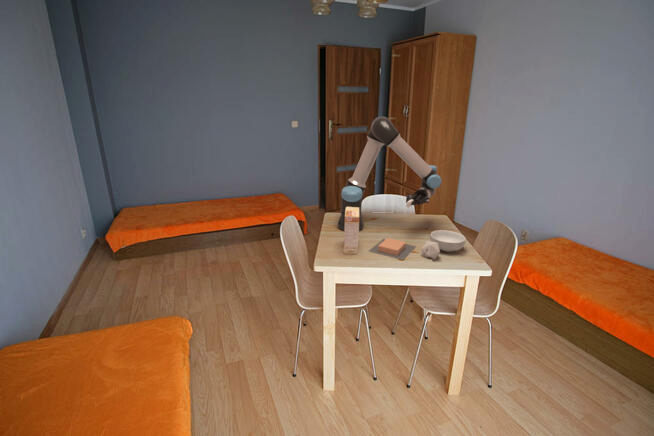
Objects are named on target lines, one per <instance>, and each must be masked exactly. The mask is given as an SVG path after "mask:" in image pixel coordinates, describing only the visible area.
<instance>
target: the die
mask: <svg viewBox="0 0 654 436" xmlns="http://www.w3.org/2000/svg"><path fill="white" fill-rule="evenodd" d="M421 251H422V256H423V257H425V258H429V259H432V260H436V259H437V257H438V256H439V254H440V253H441V250H440V249H439V245H438V243H437V242H431V240H426V241H425V243H424V244H423V245H422V247H421Z"/></svg>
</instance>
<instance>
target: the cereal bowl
mask: <svg viewBox="0 0 654 436" xmlns="http://www.w3.org/2000/svg"><path fill="white" fill-rule="evenodd" d="M429 239H430V240H429V241H431V242H437V243H438V245H439V249H440V251H442V252H446V253H448V252H449V253H451V252H455V251H457V252H458V251H459V250H461V249H463V247H464V246H465V244H466V240H467V239H466V237H465V236H464V235H463V234H461V233H459V232H456V231H453V230H448V229H439V230H433V231H432V232H431V233H430V236H429Z"/></svg>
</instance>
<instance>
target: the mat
mask: <svg viewBox="0 0 654 436" xmlns="http://www.w3.org/2000/svg"><path fill="white" fill-rule="evenodd" d="M386 239H387V238H386ZM386 239H385V238H382V239H381V240H380V241H379V242H378V243H376V244H375V245H373V247H372V248H370V249H369V250H368V253H369V252H370V253H373V254H377V255H382V256H385V257H389V258H394V259H396V260H400V261H404V260H405V259H406V258H407V257H408V256H409V255H410V254H411V253H412V252H413V251H414V250H415V249H416V248H417V246H415V245H411V244H407V243H406V247H405V248H404V249H403V250H402V251H401V252H400V253H399V254H398V255H397V256H395V255H391V254H387V253H383V252H379V251H378V245H380V244H381V243H382V242H383V241H384V240H386Z"/></svg>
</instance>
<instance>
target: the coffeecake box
mask: <svg viewBox="0 0 654 436" xmlns="http://www.w3.org/2000/svg"><path fill="white" fill-rule="evenodd" d="M343 232H344V233H343V254H346V255H347V254H348V255H349V254H350V255H358V253H359V238H360V235H359V234H360V231H359V207H346V210H345V228H344V231H343Z"/></svg>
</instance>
